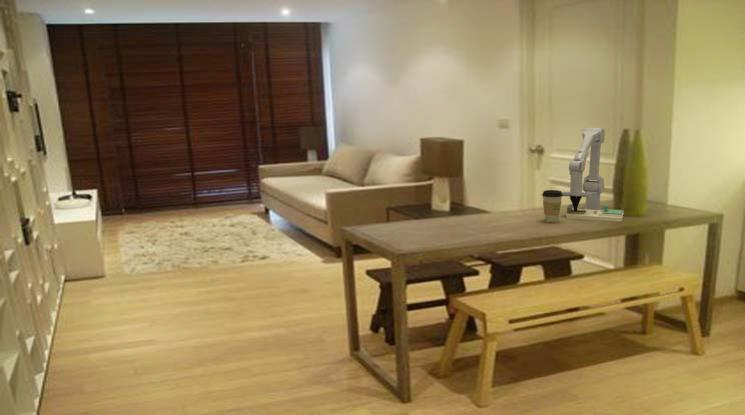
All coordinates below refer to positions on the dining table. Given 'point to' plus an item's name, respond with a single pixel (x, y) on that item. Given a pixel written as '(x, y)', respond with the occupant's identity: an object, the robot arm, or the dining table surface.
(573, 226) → the dining table surface
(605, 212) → the cover
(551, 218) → the coffee cup
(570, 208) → the t key
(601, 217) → the board
